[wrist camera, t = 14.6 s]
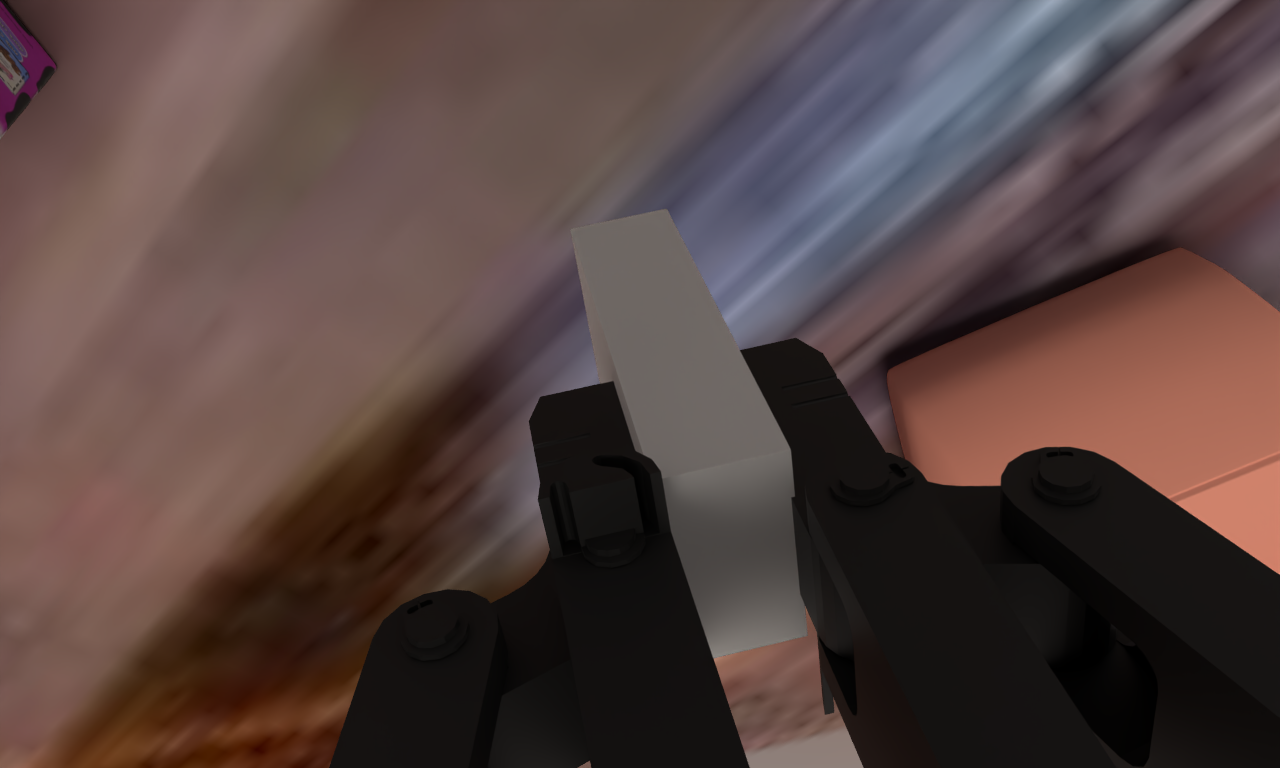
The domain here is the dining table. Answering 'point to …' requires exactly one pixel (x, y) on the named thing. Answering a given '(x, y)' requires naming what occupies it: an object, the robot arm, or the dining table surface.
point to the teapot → (1117, 392)
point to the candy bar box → (19, 67)
